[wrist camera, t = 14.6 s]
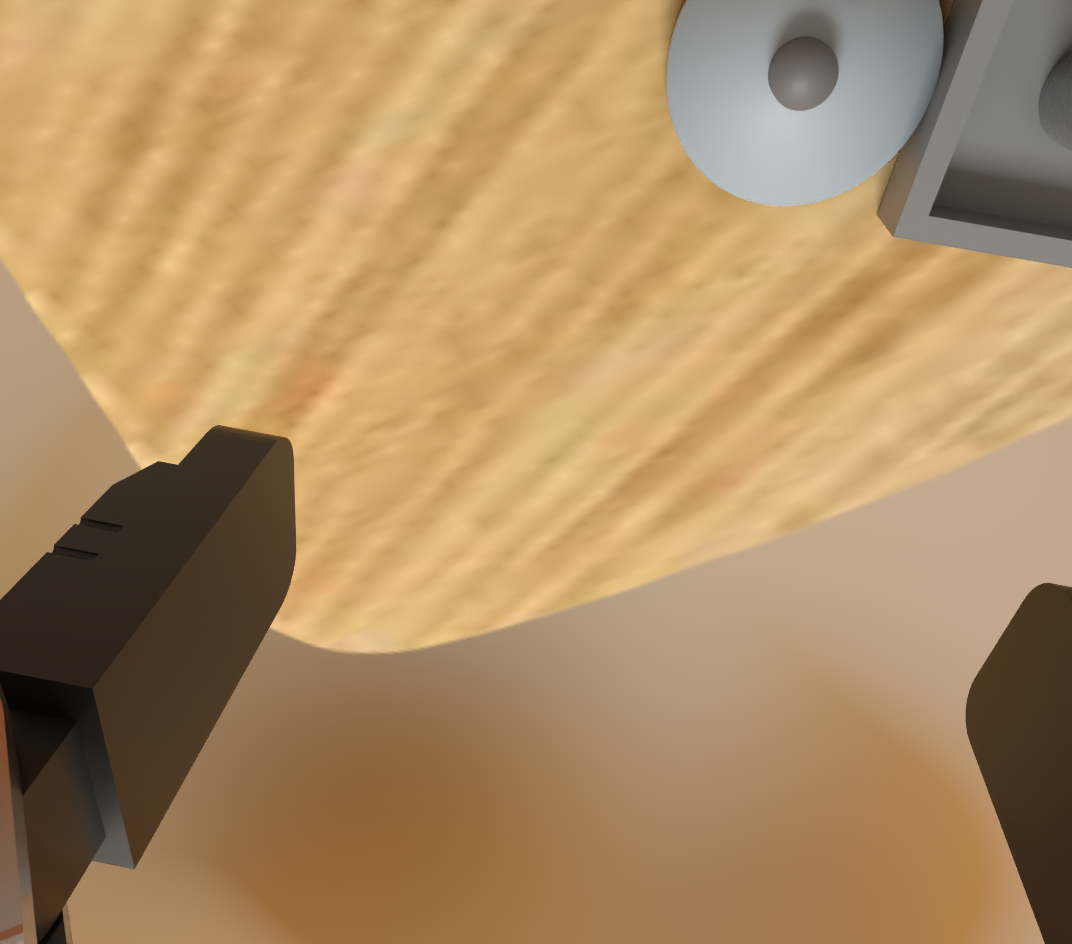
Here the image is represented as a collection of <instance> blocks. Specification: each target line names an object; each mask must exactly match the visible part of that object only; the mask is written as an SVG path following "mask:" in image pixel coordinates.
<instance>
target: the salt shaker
mask: <svg viewBox="0 0 1072 944" xmlns="http://www.w3.org/2000/svg"><path fill="white" fill-rule="evenodd" d="M1038 114H1039V120H1040V123H1041V126H1042V128H1043V130H1044V132H1045V133H1046V134H1047V135H1048V137H1049V138H1050V139H1052V140H1053V141H1054V142H1056V143H1057V144H1059V145H1061V146H1063V147H1064V148H1066V149H1068V150H1070V151H1072V49H1071V50H1070V51H1069V52H1068V53H1066V54H1065V55H1064V56H1063V57H1062V58H1061V59H1060V60H1059V61H1058V62H1057V64H1056V65H1055V66H1054V67H1053V69H1052V70H1051V72H1050V73H1049V75H1048V76H1047V78H1046V80H1045V82H1044V85H1043V87H1042V90H1041V93H1040V97H1039V104H1038Z"/></svg>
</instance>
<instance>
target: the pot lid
mask: <svg viewBox="0 0 1072 944" xmlns="http://www.w3.org/2000/svg"><path fill="white" fill-rule="evenodd" d="M943 39H944V33H943V20H942V13H941V8H940V4H939V0H686V1H685V3H684V5H683V6H682V8H681V11H680V13H679V16H678V18H677V21H676V24H675V26H674V30H673V33H672V37H671V41H670V45H669V52H668V59H667V79H666V83H667V96H668V106H669V110H670V114H671V119H672V123H673V125H674V128H675V131H676V133H677V136H678V139H679V140H680V142H681V144H682V146H683V148H684V150H685V152H686V153H687V155H688V156H689V157H690V159H691V160H692V162H693V163H694V164H695V166H696V167H697V168H698V169H699V170H700V171H701V172H702V173H703V174H704V175H705V176H706V177H707V178H708V179H710V180H711V181H712V182H713V183H715V184H716V185H717V186H719V187H720V188H722V189H724V190H725V191H727V192H729V193H731V194H732V195H735V196H737V197H740V198H742V199H745V200H747V201H751V202H756V203H760V204H765V205H774V206H797V205H803V204H810V203H815V202H818V201H822V200H825V199H829V198H831V197H834V196H836V195H839V194H841V193H844V192H846V191H848V190H850V189H851V188H853V187H855V186H857V185H859V184H860V183H862V182H863V181H865V180H866V179H868V178H869V177H871V176H872V175H873V174H875V173H876V172H877V171H879V170H880V169H881V168H882V167H883V166H884V165H885V164H887V163H888V162H889V161H890V160H891V159H892V158H893V157H894V156H895V155H896V153H897V152H898V151H899V150H900V149H901V148H902V147H903V146H904V145H905V143H906V142H907V140H908V139H909V138H910V136H911V135H912V134H913V132H914V131H915V129H916V128H917V126H918V124H919V123H920V121H921V119H922V117H923V116H924V114H925V112H926V110H927V107H928V105H929V103H930V100H931V98H932V96H933V93H934V90H935V87H936V84H937V80H938V77H939V73H940V67H941V62H942V56H943Z"/></svg>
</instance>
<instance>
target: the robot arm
mask: <svg viewBox="0 0 1072 944" xmlns="http://www.w3.org/2000/svg"><path fill="white" fill-rule="evenodd" d="M295 558H296V524H295V488H294V457H293V449H292V445H291V443H290V441H289V440H288V439H287V438H285V437H279V436H274V435H269V434H263V433H258V432H253V431H247V430H242V429H237V428H232V427H226V426H221V425H218V426H214V427H213V428H211V429H210V430H209V431H208V432H207V433H206V434H205V435H204V437H203V438H202V439H201V440H200V441H199V442H198V443H197V444H196V445H195V447H194V448H193V449H192V450H191V451H190V452H189V453H188V454H187V456H186V457H185V458H184V459H183V460H182V461H181V462H180V463H179V465H175V464H170V463H165V462H159V461H158V462H156V463H154V464H152V465H150V466H148V467H146V468H144V469H143V470H141V471H139V472H137V473H135V474H133V475H131V476H129V477H127V478H126V479H123V480H121V481H119V482H117V483H116V484H114V485H112V486H111V487H110V488H109V489H108V490H107V491H106V492H105V493H104V494H103V495H102V496H101V498H99V500H98V501H96V503H95V504H94V505H93V506H92V507H91V508H90V509H89V510H88V511H87V512H86V513H85V514H84V515H83V516H82V517H81V521H80V524H79V525H76V524H74V525H73V526H72V527H71V528H70V529H69V530H68V531H67V532H66V533H65V534H64V535H63V536H62V537H61V538H60V540H58V541H57V543H56V544H55V545H54V550H53V552H52V553H49V552H47V553H46V554H45V555H44V556H43V557H42V558H41V559H40V560H39V561H38V562H37V563H36V564H35V565H34V566H33V567H32V568H31V569H30V570H29V571H28V572H27V573H26V574H25V575H24V576H23V577H22V578H21V579H20V580H19V581H18V582H17V583H16V585H14V587H13V588H12V589H11V590H10V591H9V592H8V593H7V594H6V595H5V596H4V597H3V598H2V599H1V600H0V944H73V939H72V932H71V924H70V916H69V910H68V906H67V900H68V899H69V897H70V895H71V894H72V892H73V891H74V889H75V887H76V886H77V884H78V882H79V881H80V879H81V877H82V876H83V874H84V873H85V871H86V869H87V867H88V866H89V864H90V862H91V861H96V862H101V863H106V864H111V865H116V866H121V867H126V868H131V869H135V867H136V866H137V864H138V862H139V860H140V858H141V857H142V855H143V853H144V851H145V849H146V848H147V846H148V844H149V842H150V841H151V839H152V837H153V835H154V833H155V832H156V830H157V828H158V826H159V824H160V822H161V821H162V819H163V817H164V815H165V814H166V812H167V810H168V808H169V806H170V805H171V803H172V801H173V799H174V797H175V796H176V794H177V792H178V790H179V789H180V787H181V785H182V783H183V781H184V780H185V778H186V776H187V774H188V772H189V771H190V769H191V767H192V765H193V763H194V762H195V760H196V758H197V756H198V754H199V753H200V751H201V749H202V747H203V746H204V743H205V742H206V740H207V738H208V737H209V735H210V733H211V731H212V729H213V728H214V726H215V724H216V722H217V720H218V719H219V717H220V715H221V713H222V711H223V709H224V708H225V706H226V704H227V702H228V701H229V699H230V697H231V695H232V694H233V692H234V690H235V688H236V686H237V685H238V683H239V681H240V679H241V677H242V676H243V674H244V672H245V670H246V668H247V667H248V665H249V663H250V661H251V659H252V658H253V656H254V654H255V652H256V650H257V649H258V647H259V645H260V643H261V641H262V640H263V638H264V636H265V634H266V633H267V631H268V629H269V627H270V625H271V624H272V622H273V620H274V618H275V616H276V615H277V613H278V611H279V609H280V607H281V606H282V604H283V602H284V599H285V597H286V595H287V592H288V589H289V586H290V583H291V579H292V575H293V571H294V565H295ZM966 727H967V734H968V737H969V741H970V744H971V746H972V749H973V752H974V754H975V757H976V760H977V762H978V765H979V768H980V770H981V773H982V776H983V778H984V781H985V783H986V786H987V789H988V792H989V794H990V797H991V800H992V802H993V805H994V808H995V811H996V813H997V816H998V819H999V821H1000V824H1001V827H1002V829H1003V832H1004V835H1005V838H1006V840H1007V843H1008V846H1009V848H1010V851H1011V854H1012V856H1013V859H1014V862H1015V864H1016V867H1017V870H1018V872H1019V875H1020V878H1021V880H1022V883H1023V886H1024V888H1025V891H1026V894H1027V897H1028V899H1029V902H1030V905H1031V907H1032V910H1033V912H1034V915H1035V918H1036V921H1037V923H1038V926H1039V928H1040V931H1041V934H1042V937H1043V939H1044V942H1045V944H1072V587H1067V586H1062V585H1057V584H1052V583H1043V584H1041V585H1038V586H1037V587H1035V588H1034V589H1033V590H1032V591H1031V592H1030V593H1029V594H1028V595H1027V596H1026V598H1025V599H1024V601H1023V602H1022V604H1021V605H1020V607H1019V609H1018V610H1017V612H1016V614H1015V615H1014V617H1013V618H1012V620H1011V621H1010V623H1009V625H1008V626H1007V628H1006V629H1005V631H1004V633H1003V634H1002V636H1001V637H1000V639H999V641H998V643H997V644H996V645H995V647H994V649H993V650H992V652H991V653H990V655H989V657H988V658H987V660H986V661H985V663H984V665H983V666H982V668H981V669H980V671H979V672H978V674H977V676H976V677H975V679H974V681H973V683H972V685H971V688H970V691H969V694H968V699H967V704H966Z"/></svg>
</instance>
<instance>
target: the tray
mask: <svg viewBox="0 0 1072 944" xmlns="http://www.w3.org/2000/svg"><path fill="white" fill-rule="evenodd" d="M943 33H944V39H943V56H942V62H941V67H940V73H939V77H938V80H937V84H936V87H935V90H934V93H933V96H932V98H931V100H930V103H929V105H928V107H927V110H926V112H925V114H924V116H923V117H922V119H921V121H920V123H919V124H918V126H917V128H916V129H915V131H914V132H913V134H912V135H911V136H910V138H909V139H908V140H907V142H906V143H905V145H904V146H903V147H902V148H901V150H900V152H899V155H898V158H897V161H896V163H895V166H894V169H893V172H892V174H891V177H890V180H889V183H888V186H887V188H886V191H885V194H884V197H883V199H882V202H881V205H880V208H879V210H878V213H877V216H878V217H879V218H880V220H881V221H882V222H883V224H884V225H885V227H886V228H887V229H888V231H889V232H890V233H891V235H892V236H893V237H897V238H903V239H909V240H915V241H920V242H926V243H932V244H938V245H943V246H949V247H955V248H961V249H966V250H972V251H978V252H984V253H989V254H995V255H1001V256H1007V257H1012V258H1018V259H1024V260H1030V261H1036V262H1041V263H1047V264H1053V265H1059V266H1064V267H1070V268H1072V151H1070V150H1068V149H1066V148H1064V147H1063V146H1061V145H1059V144H1057V143H1056V142H1054V141H1053V140H1052V139H1050V138H1049V137H1048V135H1047V134H1046V133H1045V132H1044V130H1043V128H1042V126H1041V123H1040V120H1039V114H1038V104H1039V97H1040V93H1041V90H1042V87H1043V85H1044V82H1045V80H1046V78H1047V76H1048V75H1049V73H1050V72H1051V70H1052V69H1053V67H1054V66H1055V65H1056V64H1057V62H1058V61H1059V60H1060V59H1061V58H1062V57H1063V56H1064V55H1065V54H1066V53H1068V52H1069V51H1070V50H1071V49H1072V0H955V1H954V3H953V6H952V9H951V12H950V14H949V17H948V20H947V23H946V26H945V28H944V31H943Z"/></svg>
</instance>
